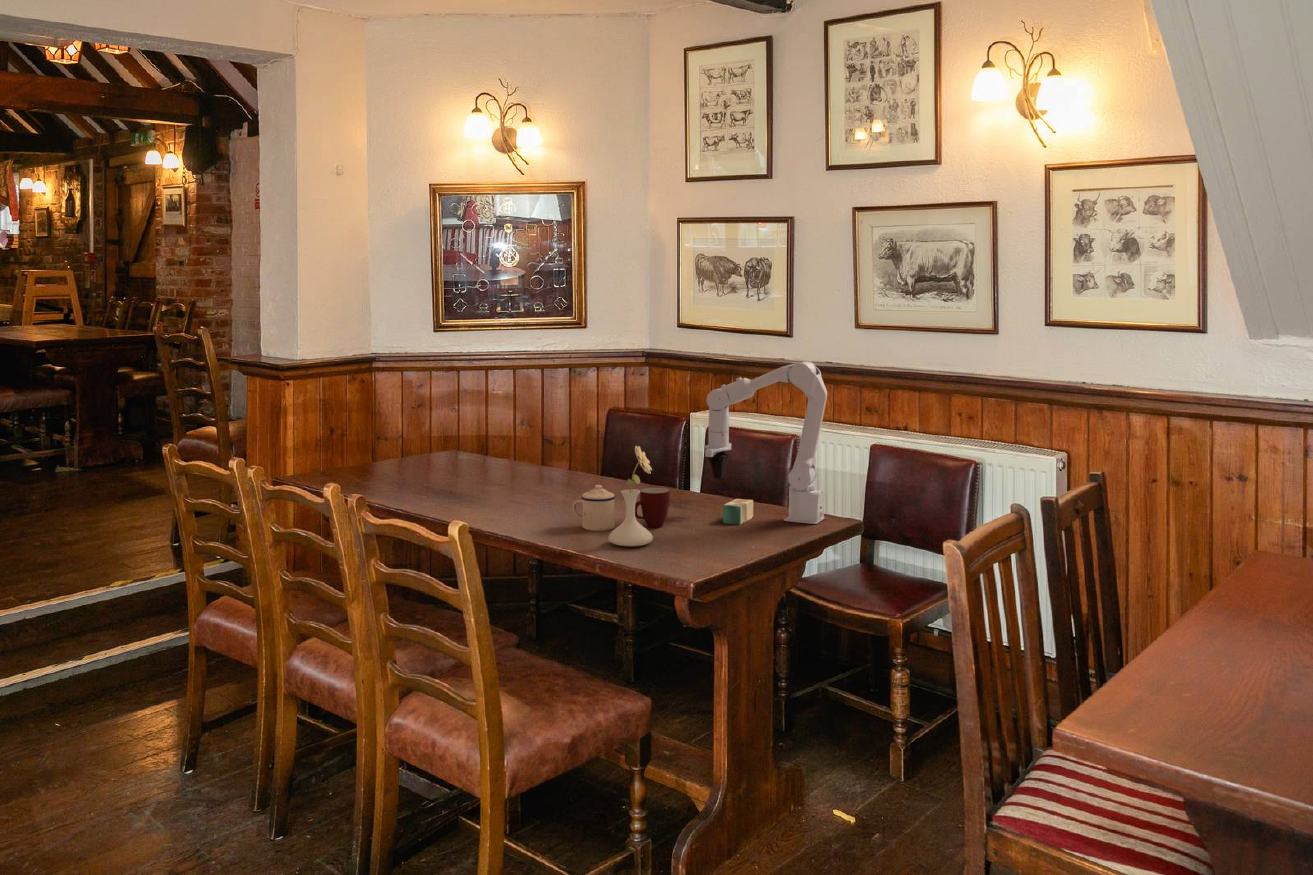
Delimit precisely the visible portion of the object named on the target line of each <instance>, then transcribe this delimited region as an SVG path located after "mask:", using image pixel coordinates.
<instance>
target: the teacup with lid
mask: <svg viewBox="0 0 1313 875" xmlns="http://www.w3.org/2000/svg"><path fill="white" fill-rule="evenodd" d="M615 499H616V495H615V494H614V493H613V492H610V491H608V490H607V489H605V488H603V486H602V485H601V484H595V485H594V488H592V489H590V490H589V491H588V492H584V493H583V494H582V495H581V499H577V500H575V501H574V502H573V503H572V512H573V514H574V515H575V516H576V517H577V518H579V519H582V528H583V529H585V530H586V531H591V532H592V531H593V532H602V531H603V532H604V531H611V530H612V529H613V530H614V529H615ZM579 503H580V504H581V503H582V514H580V513H579V512H578V511H577V506H576V505H577V504H579Z"/></svg>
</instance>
